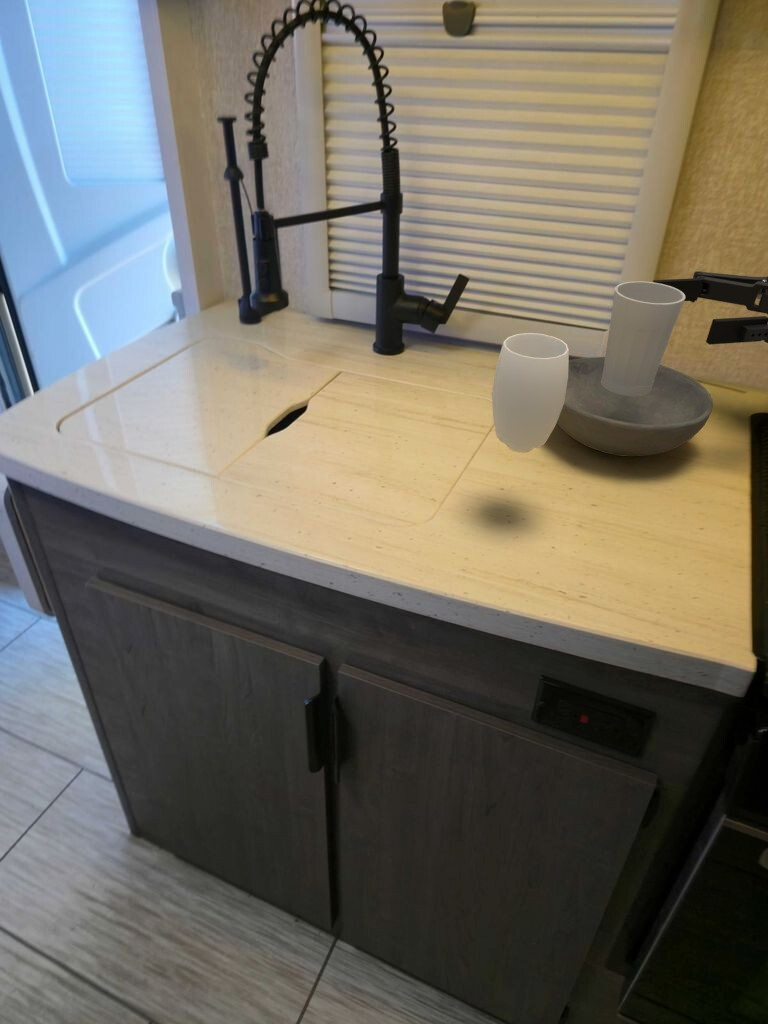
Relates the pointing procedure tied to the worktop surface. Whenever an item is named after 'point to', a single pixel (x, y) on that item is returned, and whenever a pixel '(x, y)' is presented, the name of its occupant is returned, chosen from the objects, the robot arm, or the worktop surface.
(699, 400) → the bowl
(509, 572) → the worktop surface
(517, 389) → the cup
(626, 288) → the cup
